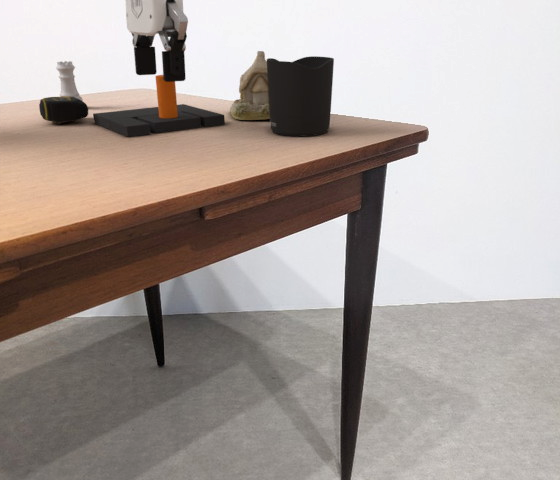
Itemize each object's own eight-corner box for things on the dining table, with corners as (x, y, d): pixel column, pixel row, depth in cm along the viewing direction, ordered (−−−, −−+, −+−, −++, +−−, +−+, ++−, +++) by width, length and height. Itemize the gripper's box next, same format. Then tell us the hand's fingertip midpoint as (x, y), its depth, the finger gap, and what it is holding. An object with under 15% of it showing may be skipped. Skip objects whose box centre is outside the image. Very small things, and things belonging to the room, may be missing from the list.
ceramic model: (232, 108, 109) (230, 48, 105) (294, 107, 109) (294, 48, 105) (225, 121, 96) (222, 55, 92) (296, 121, 96) (296, 54, 92)
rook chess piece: (54, 108, 110) (47, 61, 107) (77, 105, 113) (71, 60, 110) (65, 111, 107) (57, 63, 104) (88, 108, 110) (82, 61, 107)
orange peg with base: (155, 133, 88) (150, 79, 85) (137, 126, 93) (132, 75, 90) (201, 127, 92) (198, 75, 89) (182, 121, 97) (178, 72, 94)
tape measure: (91, 123, 96) (87, 99, 95) (46, 127, 93) (42, 102, 92) (80, 117, 102) (77, 94, 100) (38, 121, 99) (34, 97, 97)
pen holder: (279, 124, 94) (278, 55, 90) (338, 127, 91) (340, 56, 87) (259, 135, 86) (257, 61, 82) (323, 139, 83) (324, 62, 79)
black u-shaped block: (127, 137, 86) (126, 126, 85) (94, 123, 96) (92, 113, 96) (225, 124, 94) (224, 114, 94) (184, 112, 105) (183, 104, 104)
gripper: (102, -53, 87) (114, 73, 94) (152, -61, 74) (161, 85, 81) (150, -49, 91) (158, 71, 98) (206, -57, 78) (210, 82, 85)
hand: (160, 77), depth 89 cm, fingers open, 9 cm apart
